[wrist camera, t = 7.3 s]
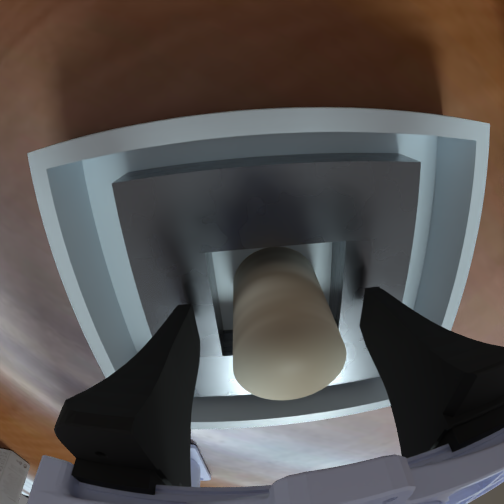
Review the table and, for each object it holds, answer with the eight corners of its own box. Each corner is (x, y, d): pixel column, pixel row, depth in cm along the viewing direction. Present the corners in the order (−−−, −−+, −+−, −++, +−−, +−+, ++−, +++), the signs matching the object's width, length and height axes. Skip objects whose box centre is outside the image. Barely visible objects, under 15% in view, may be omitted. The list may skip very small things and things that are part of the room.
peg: (239, 321, 16) (241, 405, 11) (227, 252, 15) (223, 330, 10) (315, 310, 16) (342, 390, 11) (313, 241, 14) (350, 313, 10)
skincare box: (10, 449, 28) (-12, 511, 17) (32, 465, 30) (13, 526, 19) (-6, 446, 28) (-27, 503, 18) (14, 462, 30) (-4, 517, 19)
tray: (144, 384, 19) (134, 426, 16) (70, 139, 12) (27, 153, 9) (403, 359, 19) (422, 397, 16) (443, 114, 12) (489, 123, 9)
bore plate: (178, 371, 18) (174, 396, 16) (128, 171, 13) (111, 183, 11) (372, 353, 18) (383, 375, 16) (398, 153, 13) (420, 161, 11)
